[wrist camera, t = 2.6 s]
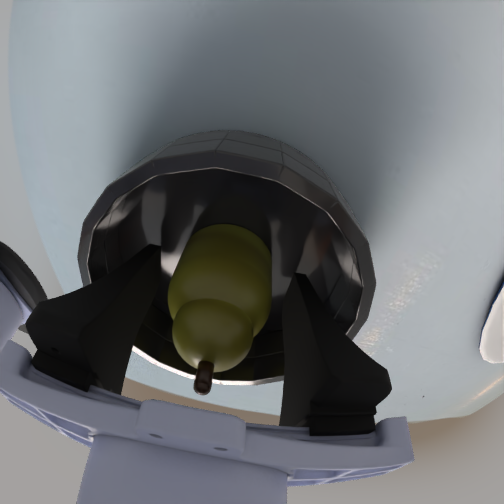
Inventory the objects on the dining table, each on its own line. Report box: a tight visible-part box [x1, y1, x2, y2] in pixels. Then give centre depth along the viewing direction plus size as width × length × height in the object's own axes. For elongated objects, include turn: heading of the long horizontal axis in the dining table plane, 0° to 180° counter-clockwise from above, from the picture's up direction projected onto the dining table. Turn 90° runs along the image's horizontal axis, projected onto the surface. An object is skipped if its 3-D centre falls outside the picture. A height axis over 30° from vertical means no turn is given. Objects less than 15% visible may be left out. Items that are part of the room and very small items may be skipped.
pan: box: [77, 130, 376, 385], centre depth 13 cm, size 13×13×4 cm
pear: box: [168, 224, 272, 395], centre depth 11 cm, size 5×5×7 cm
